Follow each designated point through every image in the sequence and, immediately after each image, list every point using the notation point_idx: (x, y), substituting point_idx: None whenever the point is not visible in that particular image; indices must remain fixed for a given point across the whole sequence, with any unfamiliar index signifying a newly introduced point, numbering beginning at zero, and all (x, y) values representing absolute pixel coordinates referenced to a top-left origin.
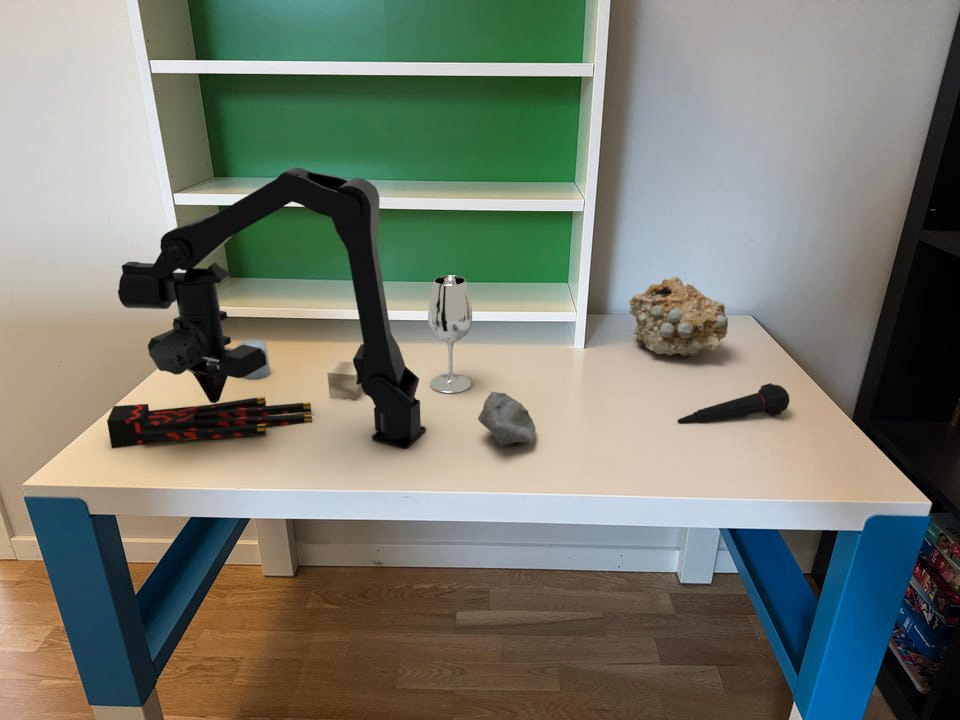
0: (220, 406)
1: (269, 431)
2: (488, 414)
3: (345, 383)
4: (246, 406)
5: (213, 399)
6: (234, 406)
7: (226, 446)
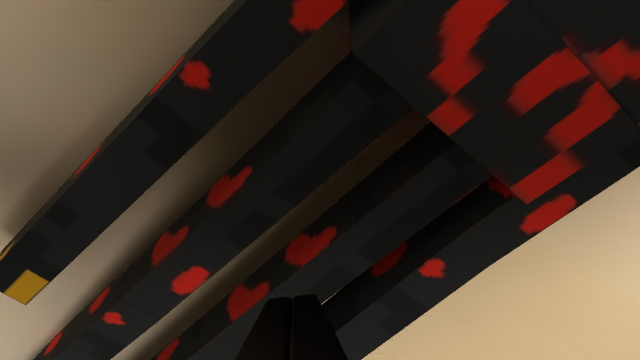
0: (385, 292)
1: None
2: None
3: None
4: None
5: (250, 331)
6: None
7: (55, 44)
